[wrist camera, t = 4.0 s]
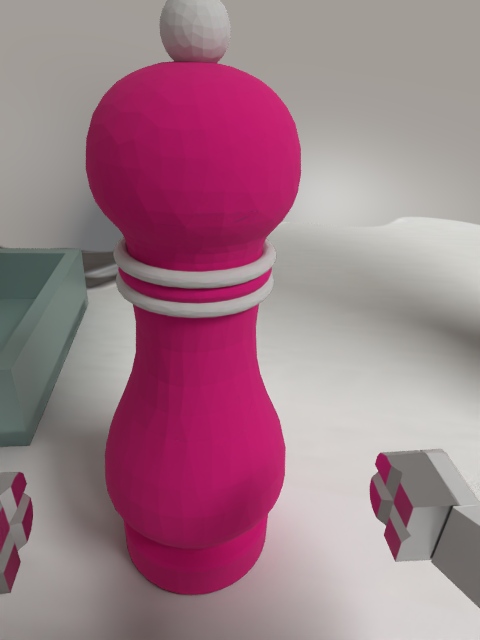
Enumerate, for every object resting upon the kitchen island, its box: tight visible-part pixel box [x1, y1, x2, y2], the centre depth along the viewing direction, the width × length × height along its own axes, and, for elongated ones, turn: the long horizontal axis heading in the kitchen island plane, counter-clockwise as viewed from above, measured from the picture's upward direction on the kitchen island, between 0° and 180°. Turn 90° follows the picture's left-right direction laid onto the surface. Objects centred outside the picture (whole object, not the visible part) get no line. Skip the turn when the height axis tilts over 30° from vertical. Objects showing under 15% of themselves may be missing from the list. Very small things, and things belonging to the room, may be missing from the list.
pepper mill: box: [86, 0, 301, 595], centre depth 16 cm, size 7×7×20 cm
